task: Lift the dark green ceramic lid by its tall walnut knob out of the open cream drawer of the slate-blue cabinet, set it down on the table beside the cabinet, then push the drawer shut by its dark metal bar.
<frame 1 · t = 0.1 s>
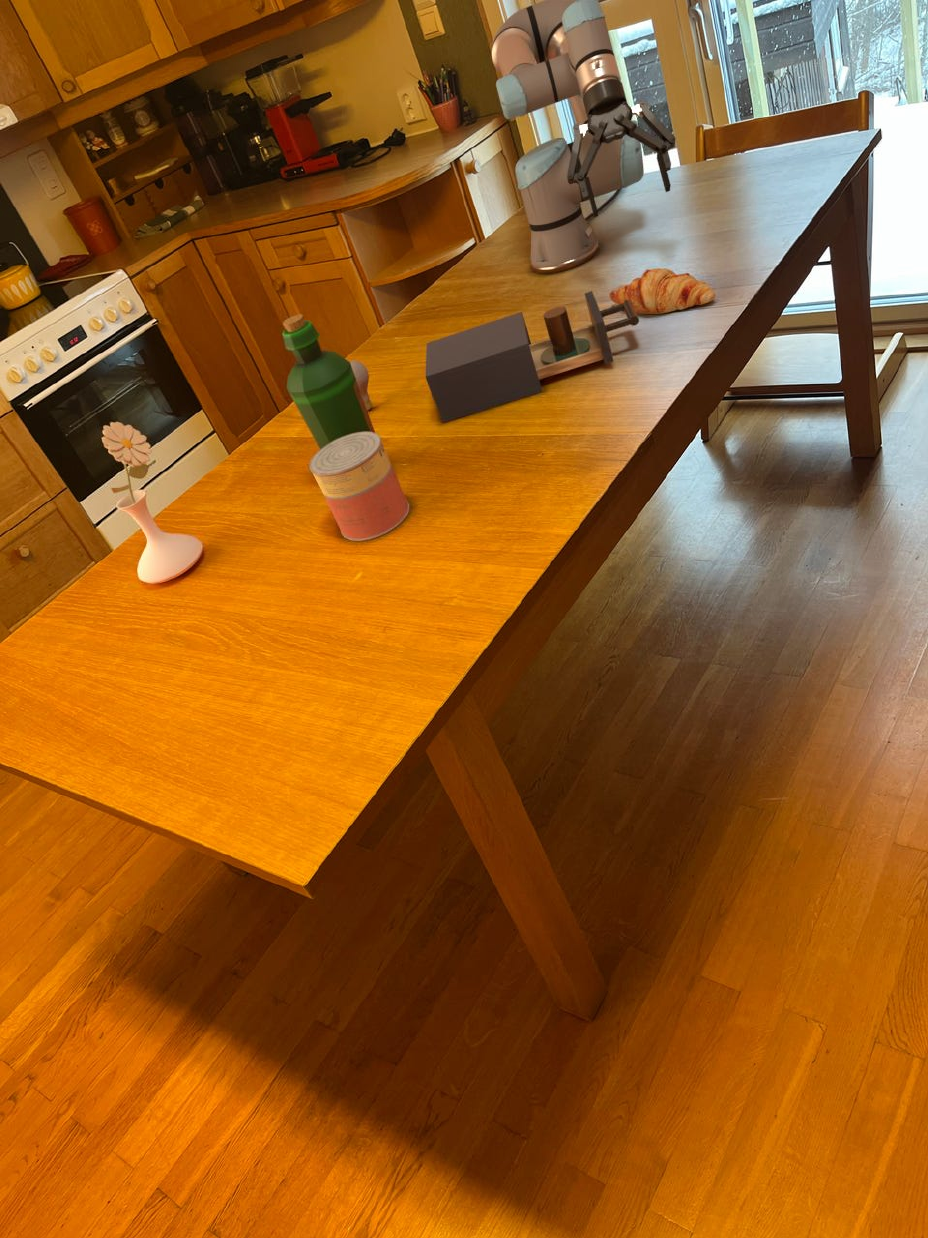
hand: (631, 201, 166), 15 cm above the table, tool tilted 35°, fingers open, 13 cm apart
bottle: (364, 477, 151), on the table
lid: (565, 353, 157), point 2 cm above the table, touching drawer
canned food: (375, 519, 139), on the table
flower in vase: (179, 565, 148), on the table
light bulb: (368, 411, 172), on the table
cabinet: (490, 389, 161), on the table
drawer: (567, 336, 155), point 5 cm above the table, slide at 11.0 cm, touching lid
croissant: (662, 307, 164), on the table
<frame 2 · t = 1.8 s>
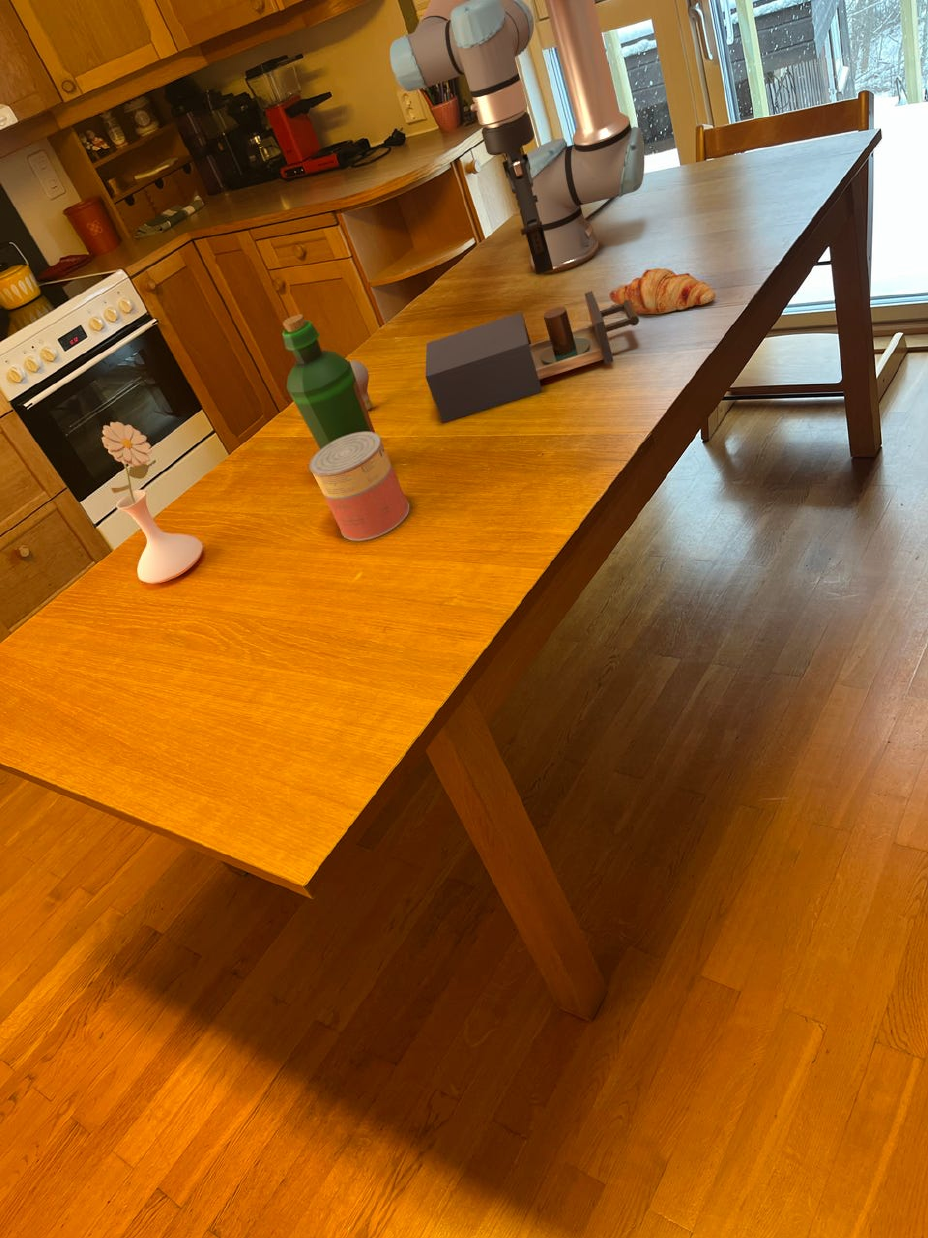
hand: (541, 258, 147), 19 cm above the table, tool pointing down, fingers open, 13 cm apart
nothing on the table moved.
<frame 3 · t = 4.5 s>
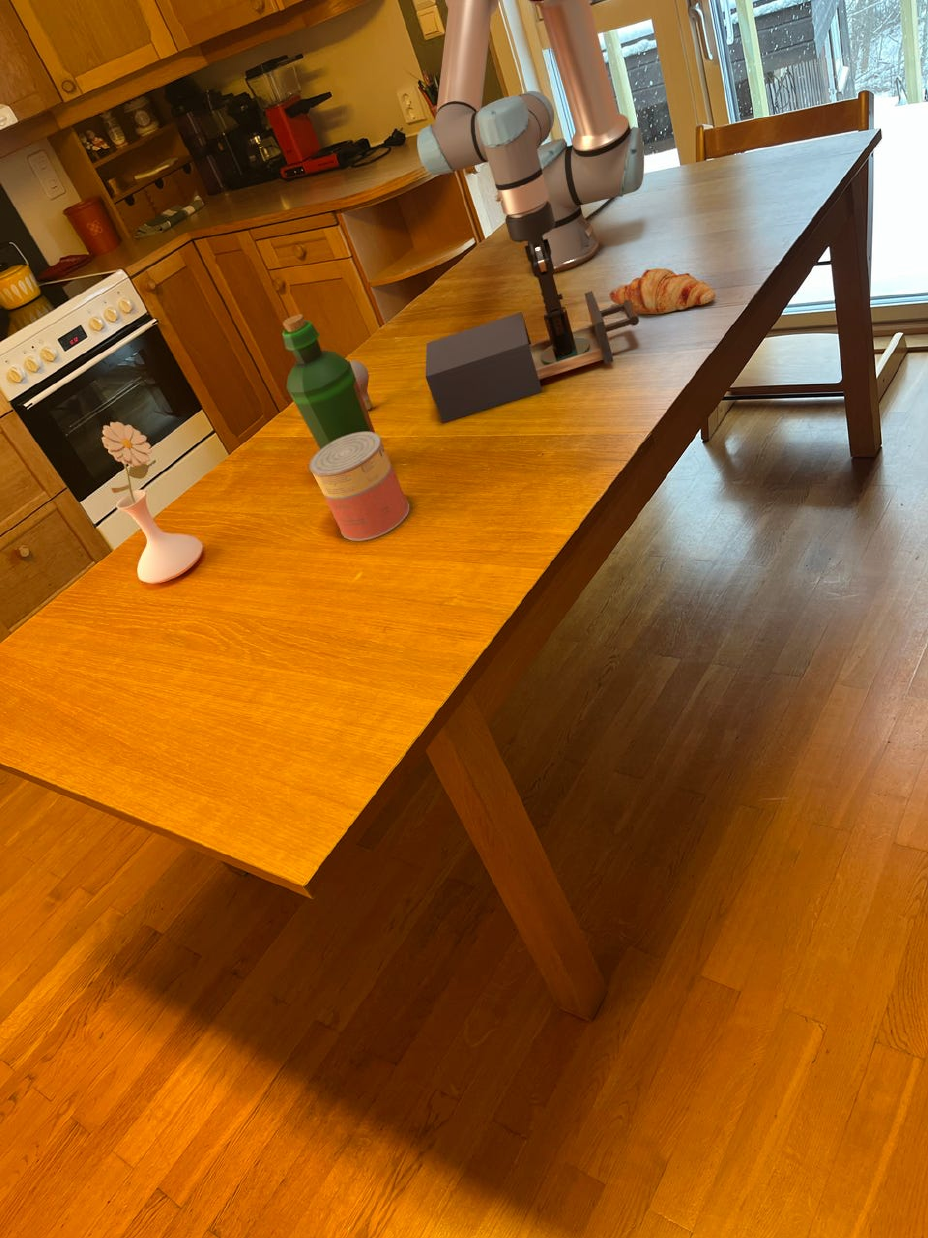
hand: (563, 344, 156), 4 cm above the table, tool pointing down, fingers closed on lid, 4 cm apart
lid: (565, 353, 157), point 2 cm above the table, touching drawer, gripper
everything else where it was.
when the fingers open (2 cm above the table, at t = 9.8 s): lid stays where it is, on the table.
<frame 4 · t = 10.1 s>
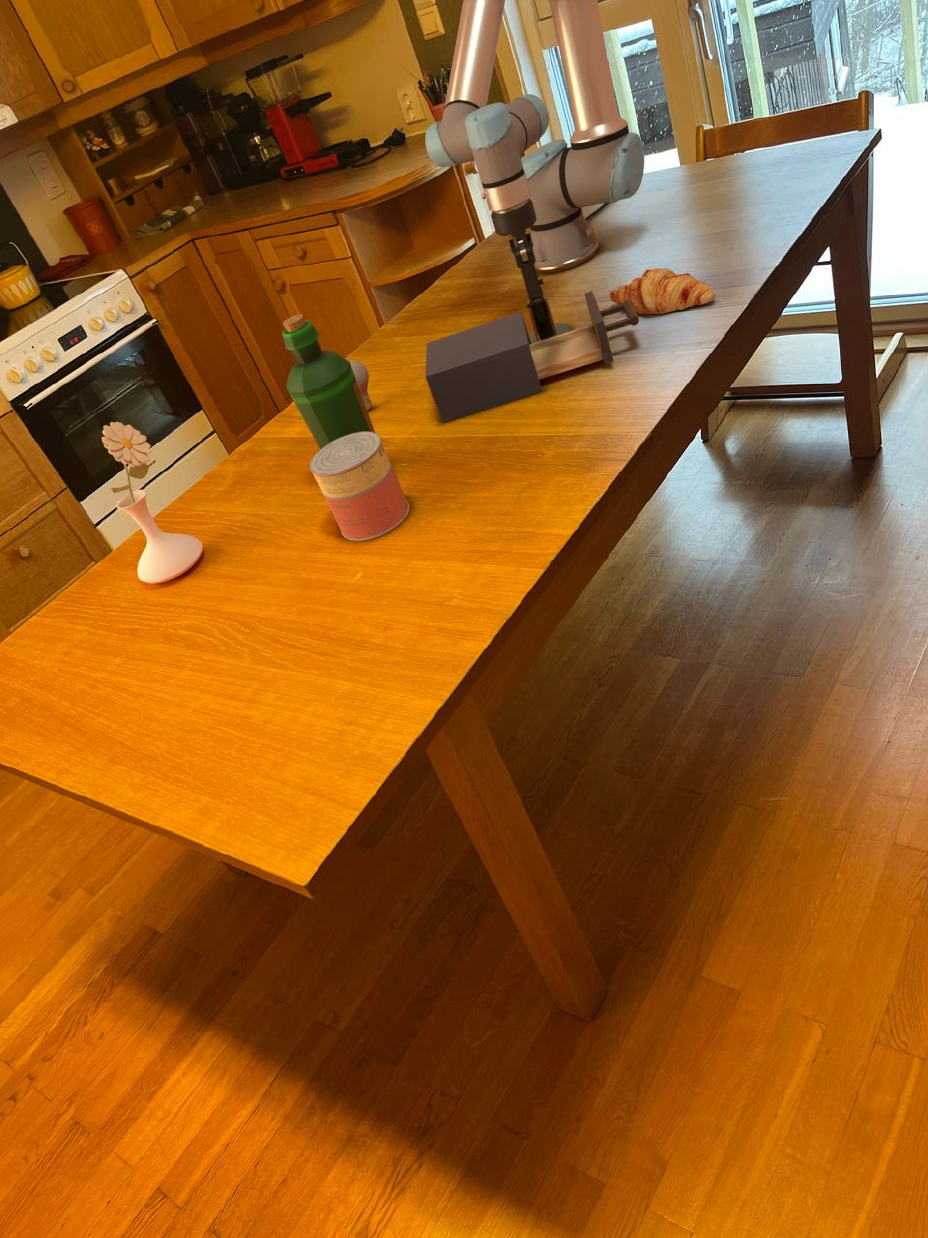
hand: (545, 328, 170), 2 cm above the table, tool pointing down, fingers open, 7 cm apart
lid: (547, 337, 171), on the table
drawer: (567, 336, 155), point 5 cm above the table, slide at 11.0 cm
everything else where it was.
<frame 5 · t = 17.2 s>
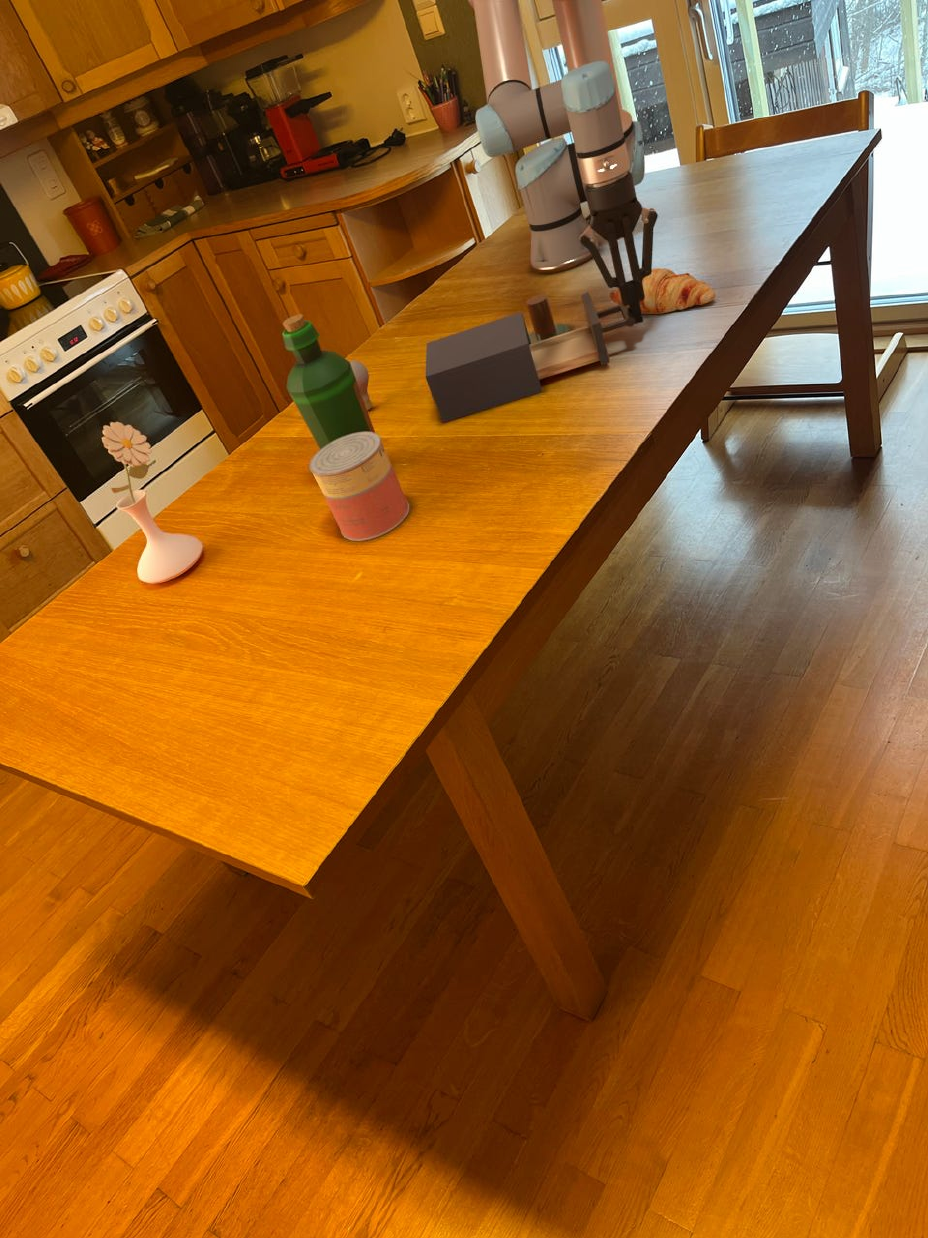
hand: (637, 320, 154), 4 cm above the table, tool pointing down, fingers closed
drawer: (563, 337, 155), point 5 cm above the table, slide at 10.4 cm, touching gripper
everything else where it was.
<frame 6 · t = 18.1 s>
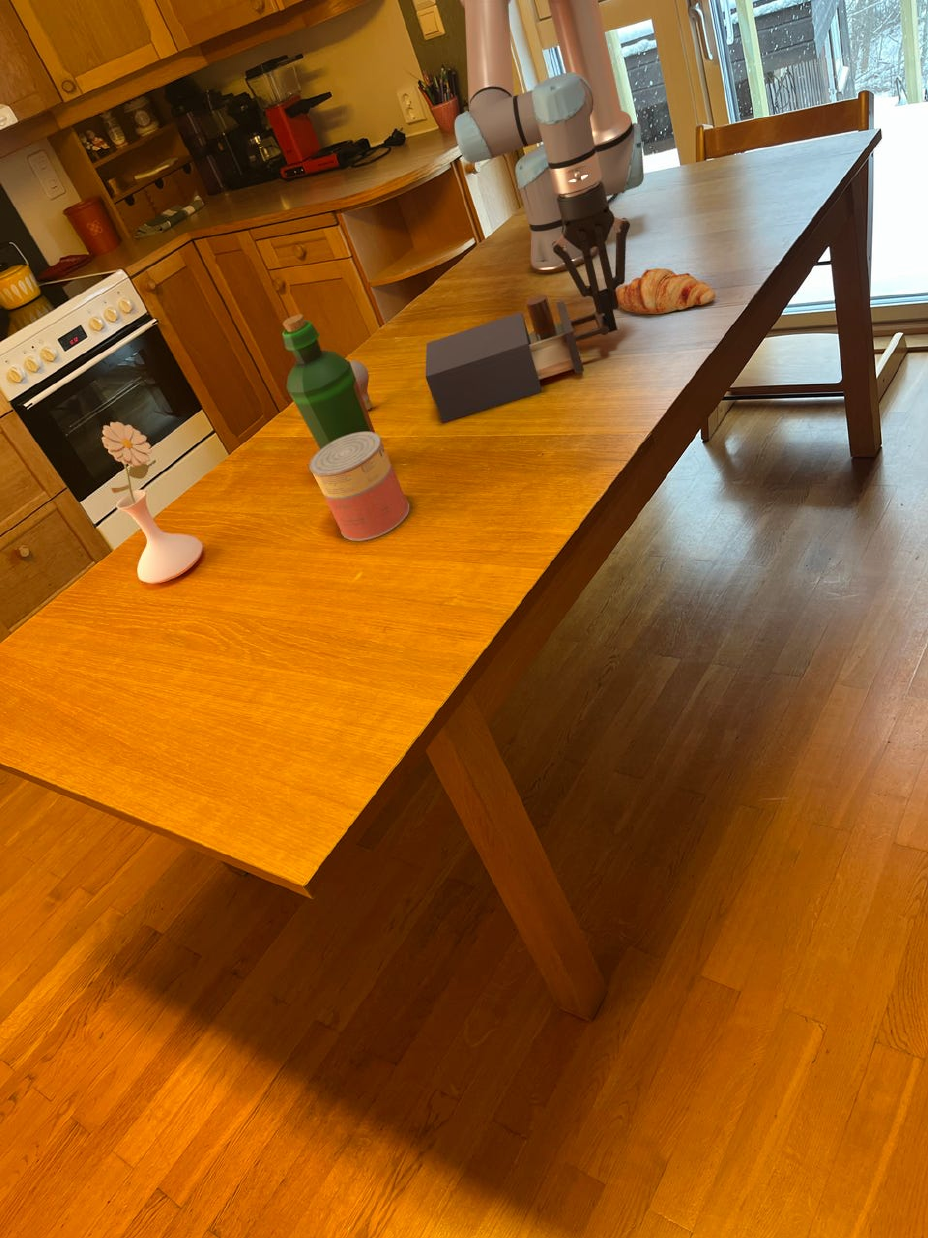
hand: (612, 328, 154), 4 cm above the table, tool pointing down, fingers closed
drawer: (538, 345, 156), point 5 cm above the table, slide at 5.9 cm, touching gripper
everything else where it was.
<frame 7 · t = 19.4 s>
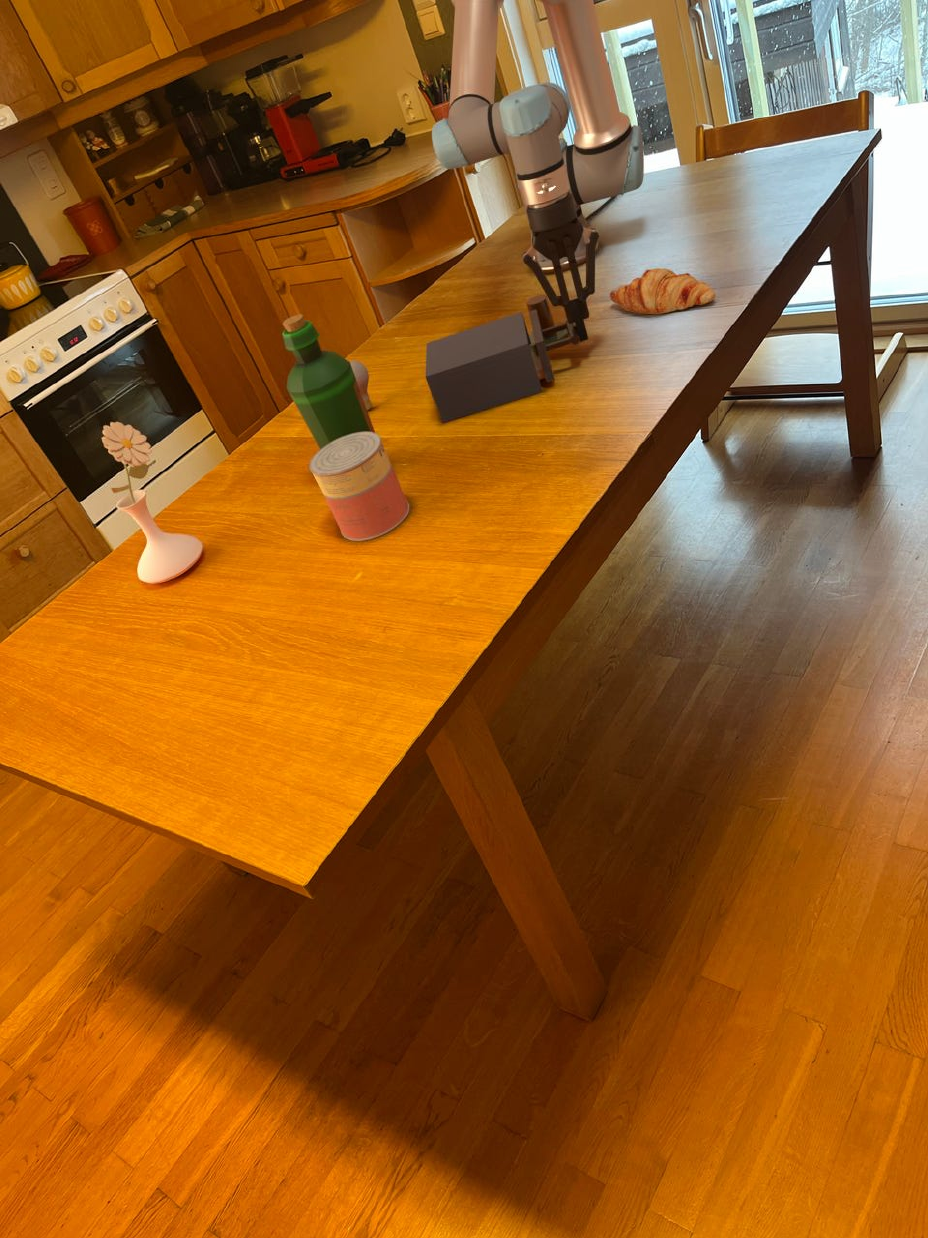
hand: (583, 337, 155), 4 cm above the table, tool pointing down, fingers closed
drawer: (511, 354, 157), point 5 cm above the table, slide at 0.8 cm, touching gripper
everything else where it was.
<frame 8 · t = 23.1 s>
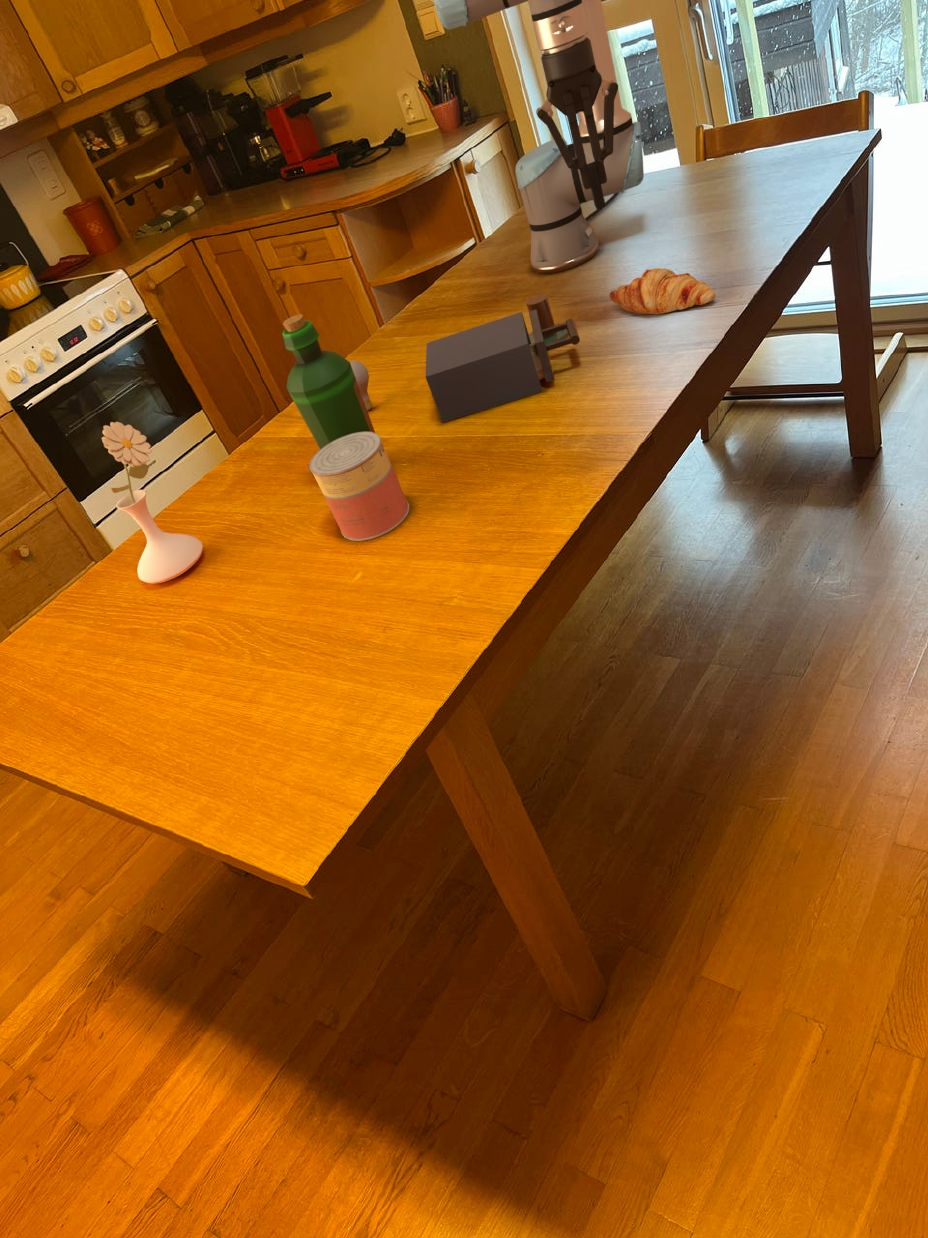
hand: (600, 205, 147), 22 cm above the table, tool pointing down, fingers closed
drawer: (510, 354, 157), point 5 cm above the table, slide at 0.8 cm
everything else where it was.
at the end: lid inside the target area (0.1 cm from its centre), on the table; lid tilted 0°; drawer slide at 0.8 cm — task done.
